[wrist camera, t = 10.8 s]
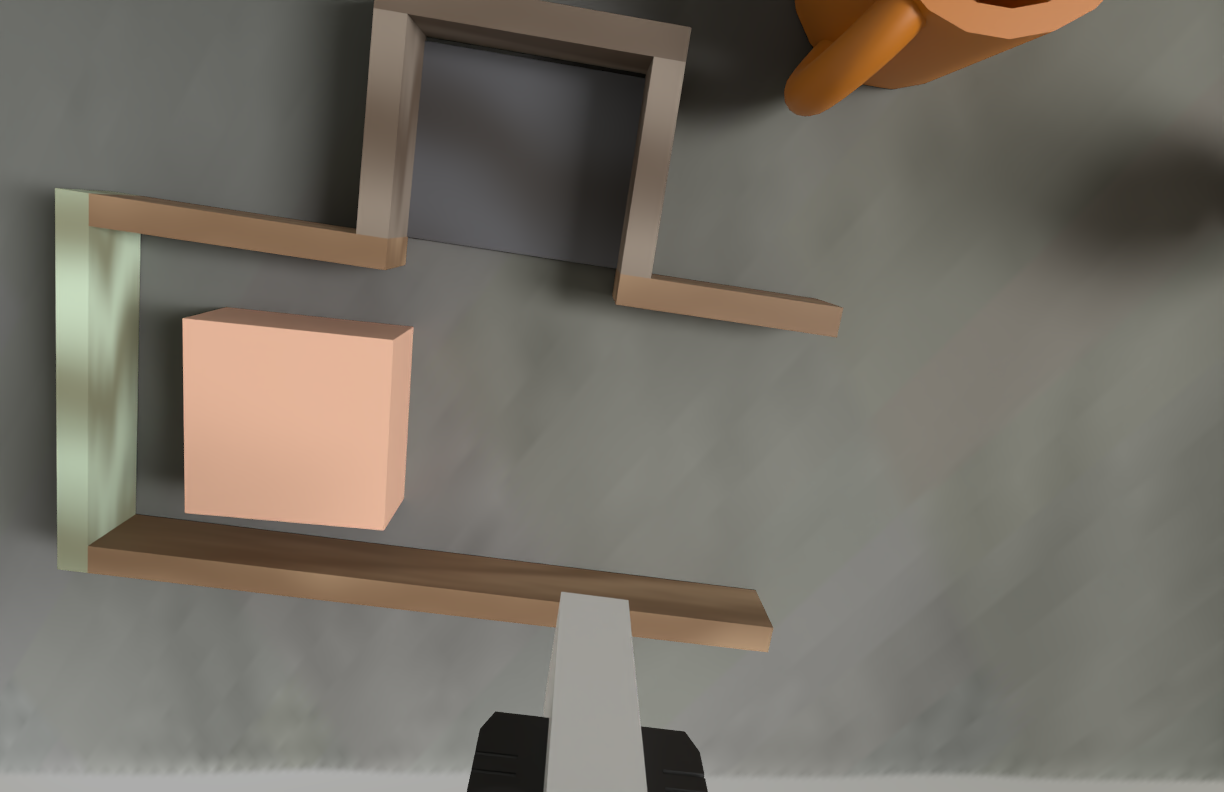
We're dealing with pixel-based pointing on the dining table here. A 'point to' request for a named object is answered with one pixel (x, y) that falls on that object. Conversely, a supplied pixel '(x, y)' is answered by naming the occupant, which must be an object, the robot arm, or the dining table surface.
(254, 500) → the block
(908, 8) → the mug
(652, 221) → the wooden tray frame
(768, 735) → the dining table surface
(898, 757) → the dining table surface
